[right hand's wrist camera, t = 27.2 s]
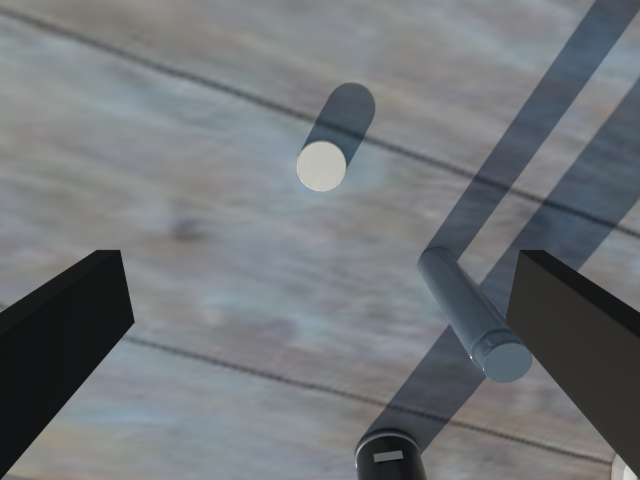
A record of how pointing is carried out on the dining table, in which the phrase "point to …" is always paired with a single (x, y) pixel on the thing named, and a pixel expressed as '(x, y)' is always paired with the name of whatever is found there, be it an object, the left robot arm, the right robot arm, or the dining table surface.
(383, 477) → the left robot arm
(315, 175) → the lid
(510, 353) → the bottle
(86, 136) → the dining table surface
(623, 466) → the wall clock
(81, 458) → the dining table surface
